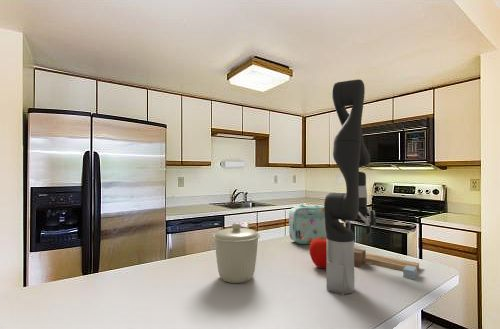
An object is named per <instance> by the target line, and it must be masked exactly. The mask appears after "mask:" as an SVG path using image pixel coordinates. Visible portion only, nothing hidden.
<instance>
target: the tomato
mask: <svg viewBox="0 0 500 329" xmlns="http://www.w3.org/2000/svg"><path fill="white" fill-rule="evenodd" d="M326 246H327V243H326V237H325V238H323V237H320V238H319V237H318V238H315V239H314V240H313V241H312V242H311V244H309V255H310V258H311V261H312V262H313V264H314V265H315V266H316V267H317V268H321V269H326V263H327V249H326Z"/></svg>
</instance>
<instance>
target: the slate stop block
mask: <svg viewBox="0 0 500 329" xmlns="http://www.w3.org/2000/svg"><path fill="white" fill-rule="evenodd" d="M402 272H403V274H402V277H403V278H407V279H410V280H415V278H416V277H417V275H418V270H417V267H414V266H409V265H406V266H405V268H404V269H403V271H402Z"/></svg>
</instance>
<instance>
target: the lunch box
mask: <svg viewBox="0 0 500 329" xmlns="http://www.w3.org/2000/svg"><path fill="white" fill-rule="evenodd" d="M288 232H289V238H290V240H291V241H294V242H295V243H297V244H300V245H310V244H311V242H312V241H313V240H314V239H315V238H318V237H319V238H320V237H323V238H325V237H326V230H325V213H324V205H323V206H322V205H304V204H299V206H294V207H292V208H291V209H289V213H288Z"/></svg>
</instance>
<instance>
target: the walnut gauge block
mask: <svg viewBox="0 0 500 329" xmlns="http://www.w3.org/2000/svg"><path fill="white" fill-rule="evenodd" d="M366 251H367V250H365V249H363V248H362V249H361V248H358V247H356V248H355V247H354V267H358V268H362V267H363V266H365V265H366V264H367V263H366V253H367V252H366Z"/></svg>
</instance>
